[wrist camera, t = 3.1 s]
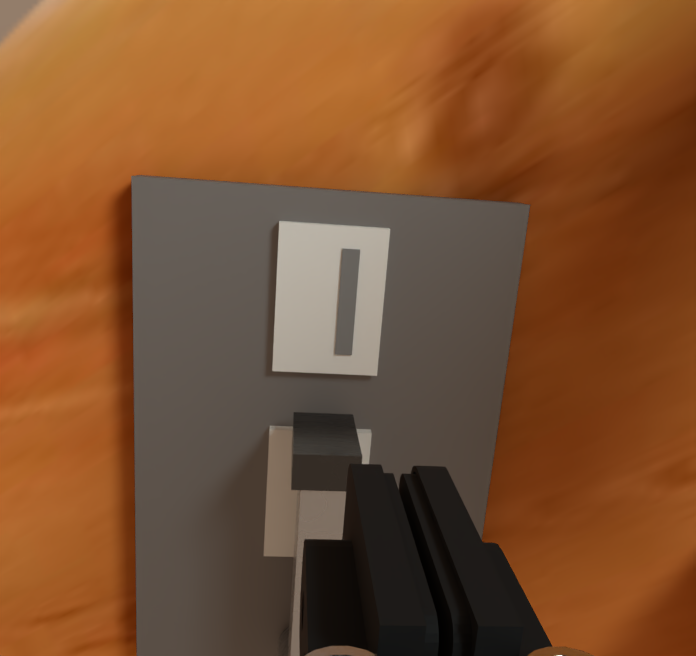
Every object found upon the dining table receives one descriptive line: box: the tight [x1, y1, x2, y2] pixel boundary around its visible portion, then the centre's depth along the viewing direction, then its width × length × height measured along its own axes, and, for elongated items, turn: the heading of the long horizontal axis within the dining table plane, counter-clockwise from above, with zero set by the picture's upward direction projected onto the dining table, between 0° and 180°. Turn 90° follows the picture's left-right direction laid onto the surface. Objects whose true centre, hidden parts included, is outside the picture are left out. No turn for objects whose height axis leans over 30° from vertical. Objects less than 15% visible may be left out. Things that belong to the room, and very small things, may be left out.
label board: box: [132, 175, 530, 656], centre depth 32 cm, size 26×18×2 cm
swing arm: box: [278, 412, 362, 656], centre depth 30 cm, size 15×3×5 cm, turn 176°
